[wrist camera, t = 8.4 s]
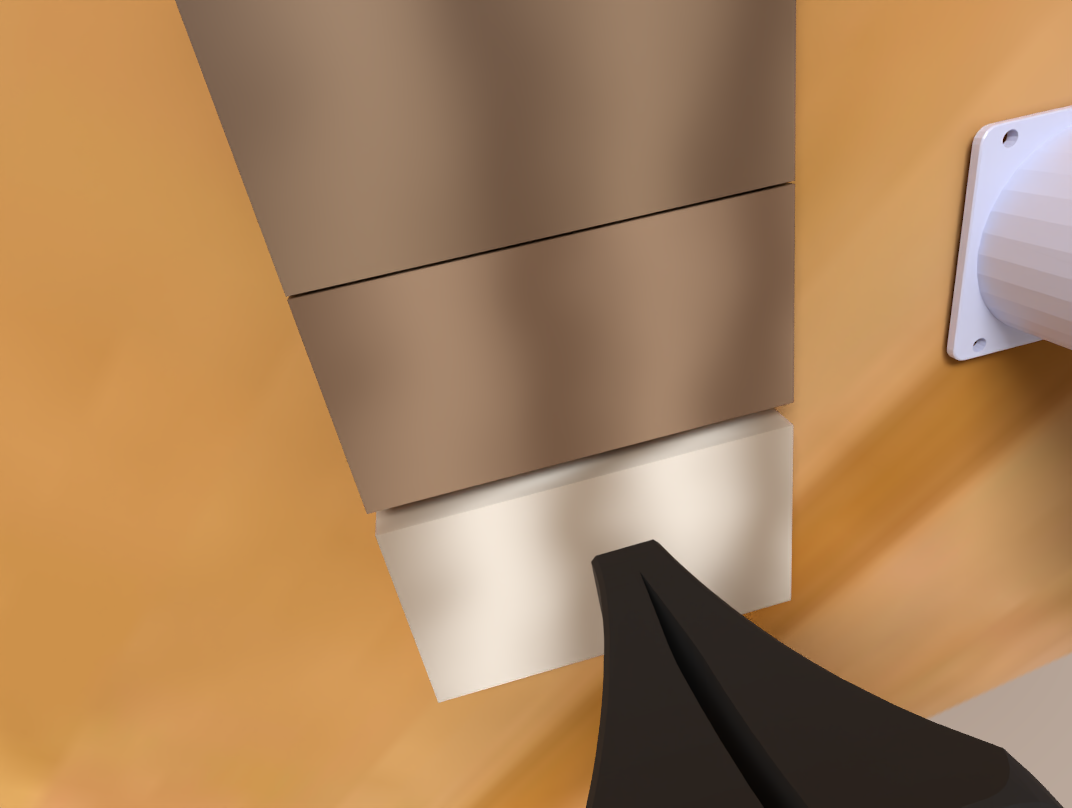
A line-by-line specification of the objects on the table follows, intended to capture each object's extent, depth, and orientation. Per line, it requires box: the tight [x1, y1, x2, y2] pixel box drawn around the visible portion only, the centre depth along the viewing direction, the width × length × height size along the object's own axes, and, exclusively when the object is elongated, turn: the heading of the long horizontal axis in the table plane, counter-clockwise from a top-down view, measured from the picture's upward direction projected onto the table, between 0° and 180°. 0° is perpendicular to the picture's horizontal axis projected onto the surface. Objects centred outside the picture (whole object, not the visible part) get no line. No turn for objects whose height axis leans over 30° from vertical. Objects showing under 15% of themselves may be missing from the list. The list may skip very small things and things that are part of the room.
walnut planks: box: [175, 0, 796, 514], centre depth 18 cm, size 14×14×2 cm
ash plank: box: [375, 408, 793, 703], centre depth 24 cm, size 14×8×2 cm, turn 101°
